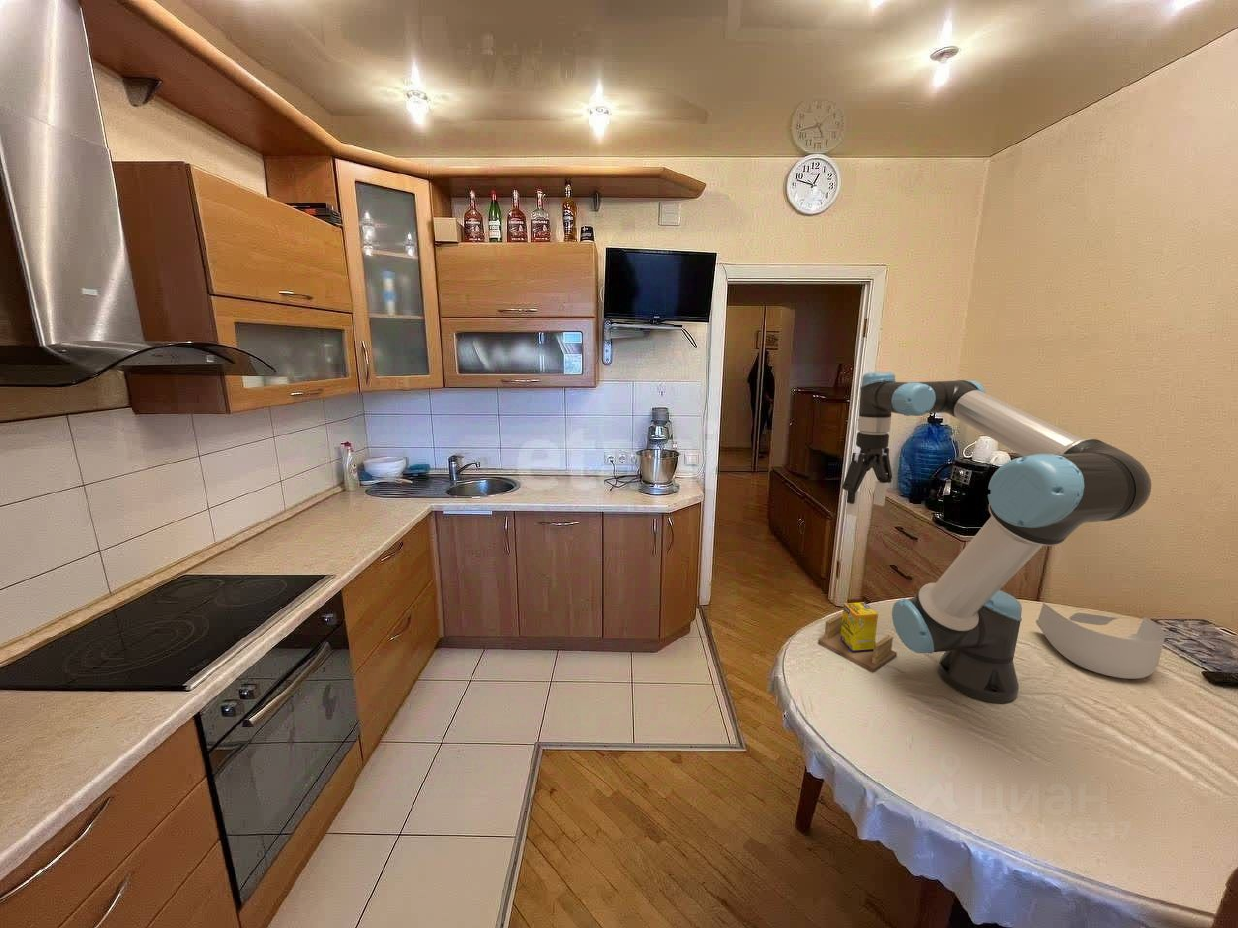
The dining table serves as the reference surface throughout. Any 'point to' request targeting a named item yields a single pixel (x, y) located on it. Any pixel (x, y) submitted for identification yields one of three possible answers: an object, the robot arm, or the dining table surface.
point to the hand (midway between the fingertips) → (865, 509)
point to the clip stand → (863, 659)
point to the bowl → (1103, 644)
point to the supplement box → (858, 627)
